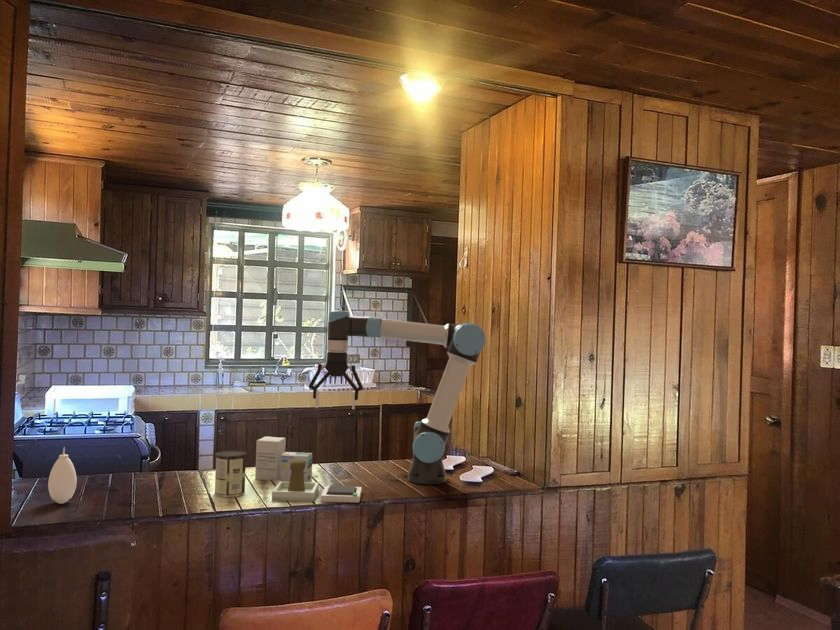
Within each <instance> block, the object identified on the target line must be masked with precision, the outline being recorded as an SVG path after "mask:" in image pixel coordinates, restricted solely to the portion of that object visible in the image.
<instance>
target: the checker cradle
mask: <svg viewBox="0 0 840 630" xmlns="http://www.w3.org/2000/svg"><path fill="white" fill-rule="evenodd" d="M329 488H330V485H325V486H324V488H323V491H322V493H321V494H320V502H325V503H326V502H329V503H331V502H332V503H333V502H334V503H360V500H361V497H362V486H356V491H355V493H353V495H328V490H329Z"/></svg>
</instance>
